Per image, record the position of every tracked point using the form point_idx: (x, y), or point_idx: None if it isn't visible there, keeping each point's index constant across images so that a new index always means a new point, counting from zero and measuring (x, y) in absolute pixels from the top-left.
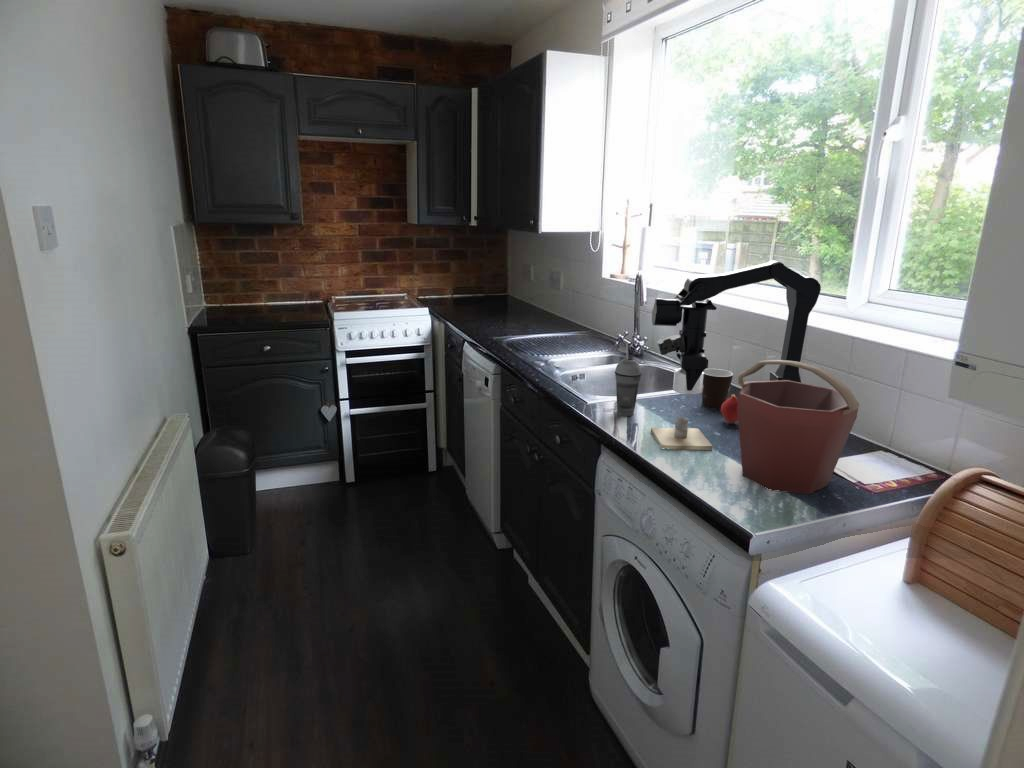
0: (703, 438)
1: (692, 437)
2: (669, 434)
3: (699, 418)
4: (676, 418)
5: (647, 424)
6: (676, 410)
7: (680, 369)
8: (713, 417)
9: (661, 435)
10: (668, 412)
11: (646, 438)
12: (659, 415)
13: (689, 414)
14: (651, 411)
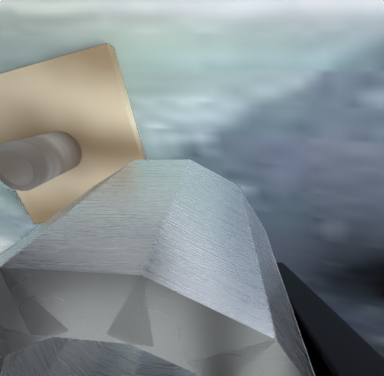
0: None
1: (71, 184)
2: (64, 115)
3: (286, 224)
4: (11, 145)
5: (188, 31)
6: (378, 160)
7: (200, 361)
8: (300, 261)
9: (42, 86)
10: (352, 127)
11: (37, 29)
12: (311, 87)
13: (328, 200)
14: (369, 49)
